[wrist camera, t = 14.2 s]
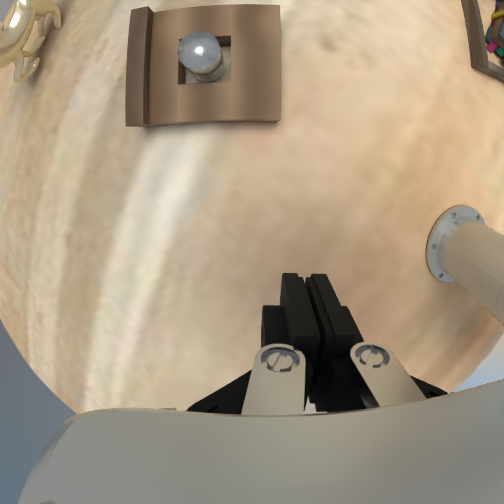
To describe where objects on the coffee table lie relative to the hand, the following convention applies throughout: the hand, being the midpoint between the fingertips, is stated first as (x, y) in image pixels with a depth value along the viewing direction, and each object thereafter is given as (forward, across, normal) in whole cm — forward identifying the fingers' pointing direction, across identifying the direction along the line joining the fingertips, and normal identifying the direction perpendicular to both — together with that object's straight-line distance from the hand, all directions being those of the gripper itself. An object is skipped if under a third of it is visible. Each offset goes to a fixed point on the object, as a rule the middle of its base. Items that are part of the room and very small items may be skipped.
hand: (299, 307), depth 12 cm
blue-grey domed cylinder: (+26, +8, -15) cm, 31 cm away
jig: (+26, +8, -15) cm, 31 cm away
